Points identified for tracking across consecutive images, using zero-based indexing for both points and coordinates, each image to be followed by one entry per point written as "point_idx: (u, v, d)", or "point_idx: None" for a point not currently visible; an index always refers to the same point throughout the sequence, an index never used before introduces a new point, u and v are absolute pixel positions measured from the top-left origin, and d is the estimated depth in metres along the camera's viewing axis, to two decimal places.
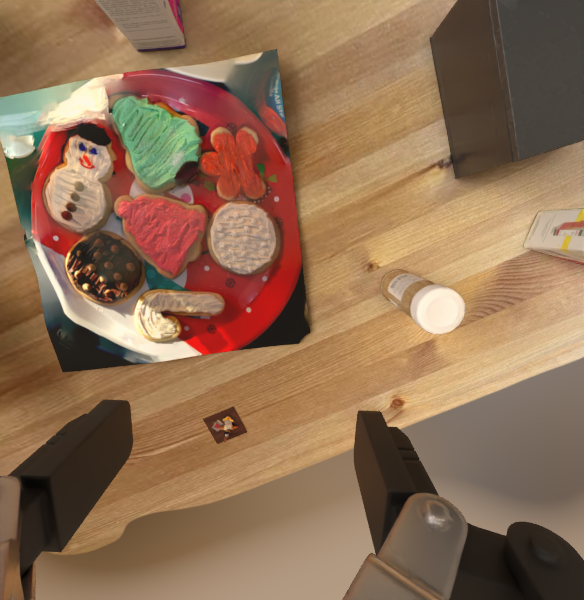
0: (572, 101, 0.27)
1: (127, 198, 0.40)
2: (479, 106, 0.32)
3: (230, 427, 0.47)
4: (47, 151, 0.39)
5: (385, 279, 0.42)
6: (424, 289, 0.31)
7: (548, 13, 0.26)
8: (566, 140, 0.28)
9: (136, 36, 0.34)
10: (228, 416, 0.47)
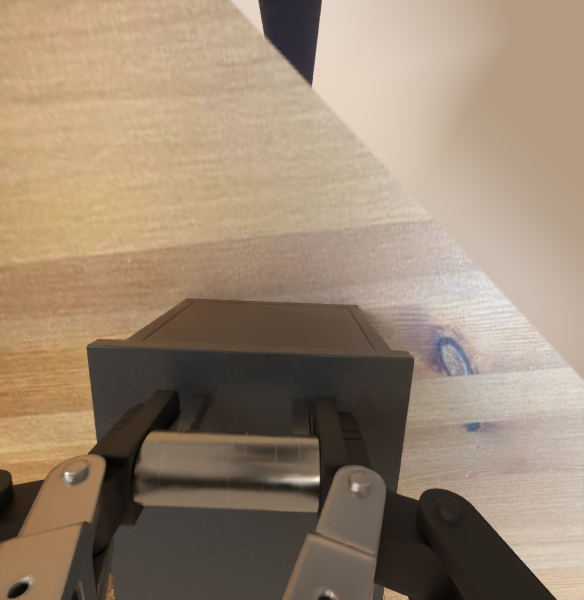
0: None
1: None
2: None
3: None
4: None
5: None
6: None
7: None
8: None
9: None
10: None
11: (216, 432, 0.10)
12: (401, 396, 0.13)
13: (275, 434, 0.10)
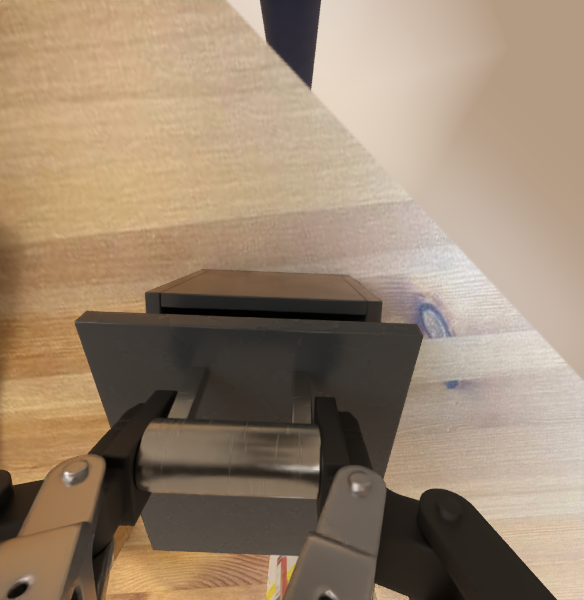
0: (232, 524, 0.18)
1: None
2: None
3: None
4: None
5: None
6: None
7: None
8: (220, 549, 0.19)
9: None
10: None
11: (216, 424, 0.09)
12: (405, 369, 0.12)
13: (275, 426, 0.09)
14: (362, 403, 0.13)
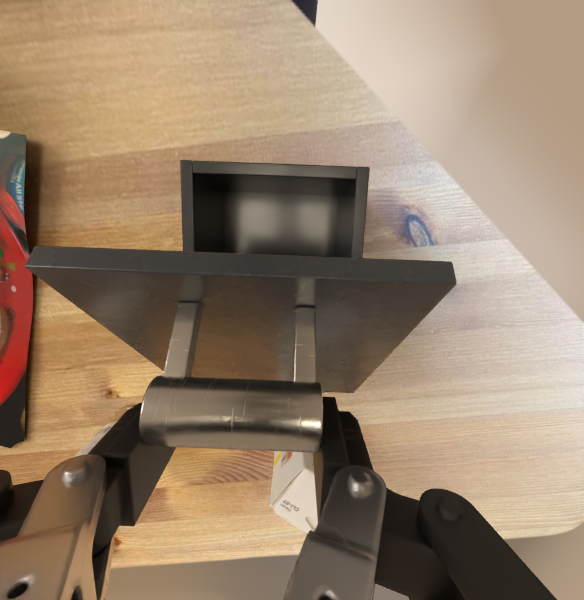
0: (245, 378, 0.21)
1: None
2: None
3: None
4: None
5: (116, 414, 0.36)
6: None
7: (202, 342, 0.15)
8: None
9: None
10: None
11: (214, 394, 0.09)
12: (424, 307, 0.11)
13: (276, 396, 0.09)
14: (370, 326, 0.12)
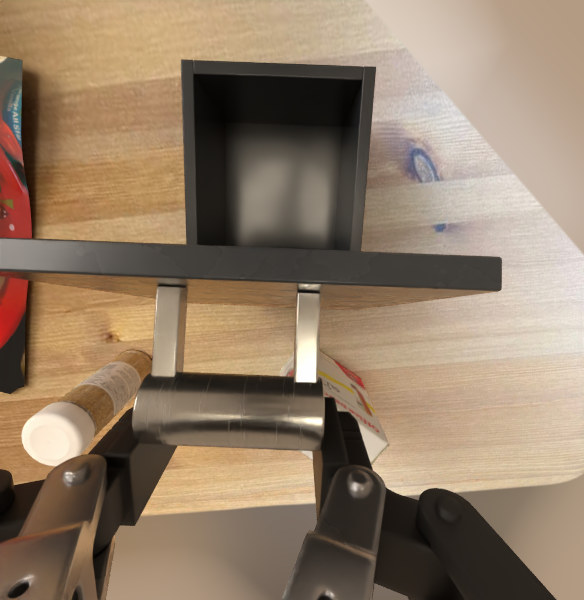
0: (247, 303, 0.20)
1: None
2: None
3: None
4: None
5: (117, 357, 0.36)
6: (49, 406, 0.25)
7: (195, 295, 0.13)
8: None
9: None
10: None
11: (208, 404, 0.08)
12: (452, 295, 0.09)
13: (274, 407, 0.08)
14: (383, 297, 0.11)
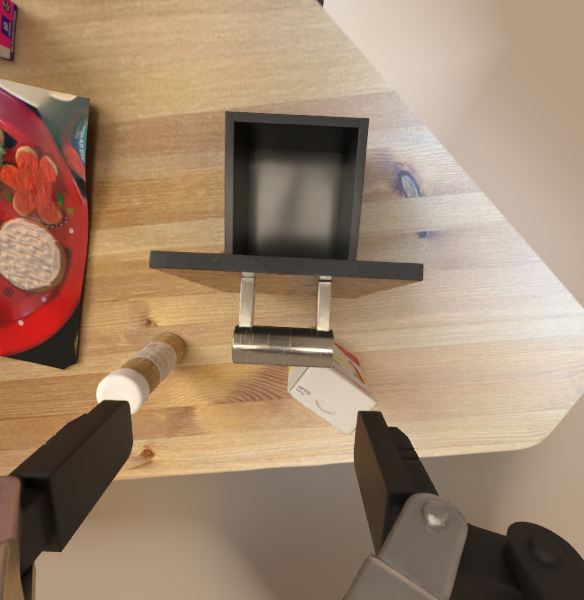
0: (273, 292, 0.28)
1: None
2: None
3: None
4: None
5: (155, 339, 0.43)
6: (116, 371, 0.32)
7: None
8: (265, 293, 0.31)
9: None
10: None
11: (272, 340, 0.16)
12: (403, 283, 0.16)
13: (307, 341, 0.16)
14: (367, 285, 0.18)
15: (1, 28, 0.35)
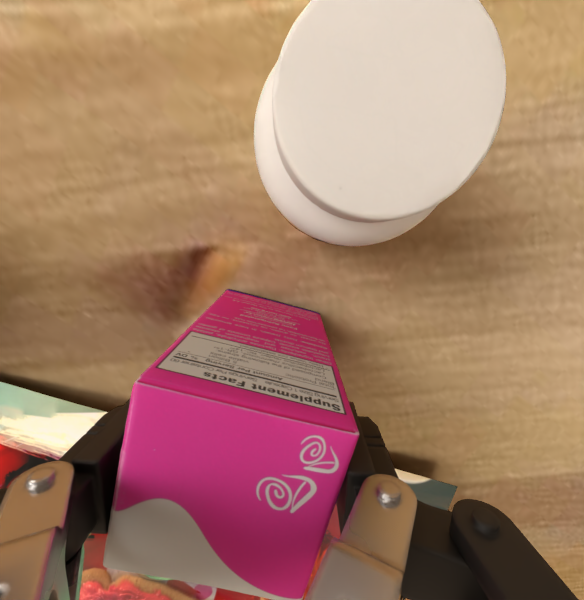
0: None
1: (102, 577, 0.22)
2: None
3: None
4: None
5: None
6: None
7: None
8: None
9: None
10: None
11: None
12: None
13: None
14: None
15: None
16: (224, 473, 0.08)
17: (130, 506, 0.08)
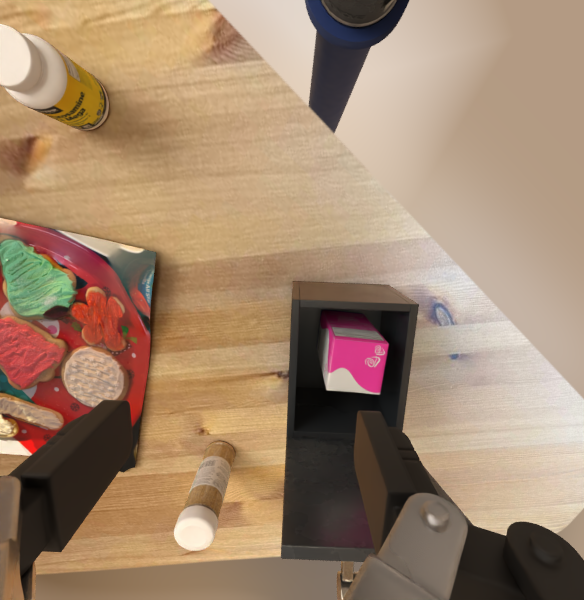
0: None
1: None
2: None
3: None
4: None
5: (208, 448, 0.47)
6: (190, 510, 0.36)
7: None
8: None
9: None
10: None
11: None
12: None
13: None
14: None
15: None
16: (356, 358, 0.32)
17: (334, 371, 0.32)
